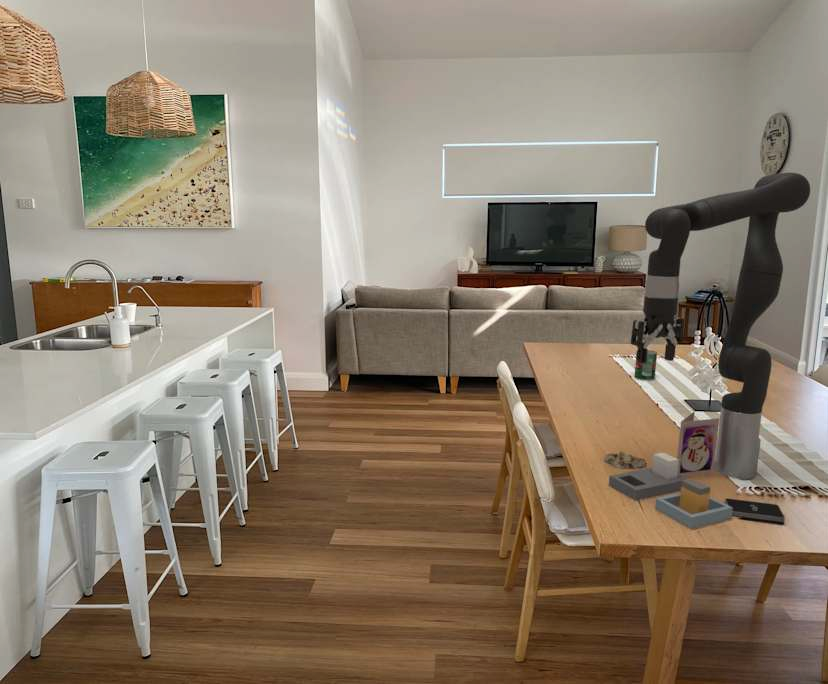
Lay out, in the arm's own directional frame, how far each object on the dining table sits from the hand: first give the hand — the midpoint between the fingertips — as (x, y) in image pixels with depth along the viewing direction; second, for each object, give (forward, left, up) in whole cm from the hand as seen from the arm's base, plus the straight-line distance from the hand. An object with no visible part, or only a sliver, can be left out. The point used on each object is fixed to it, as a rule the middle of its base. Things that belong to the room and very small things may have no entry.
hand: (655, 361), depth 155 cm
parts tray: (+5, +20, -30) cm, 36 cm away
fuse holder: (+4, +5, -30) cm, 31 cm away
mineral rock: (-2, -9, -31) cm, 32 cm away
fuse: (-1, +5, -30) cm, 30 cm away
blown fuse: (+5, +20, -30) cm, 36 cm away
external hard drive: (-8, +24, -31) cm, 40 cm away
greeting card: (-13, +1, -30) cm, 33 cm away
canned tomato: (-74, -78, -30) cm, 112 cm away
